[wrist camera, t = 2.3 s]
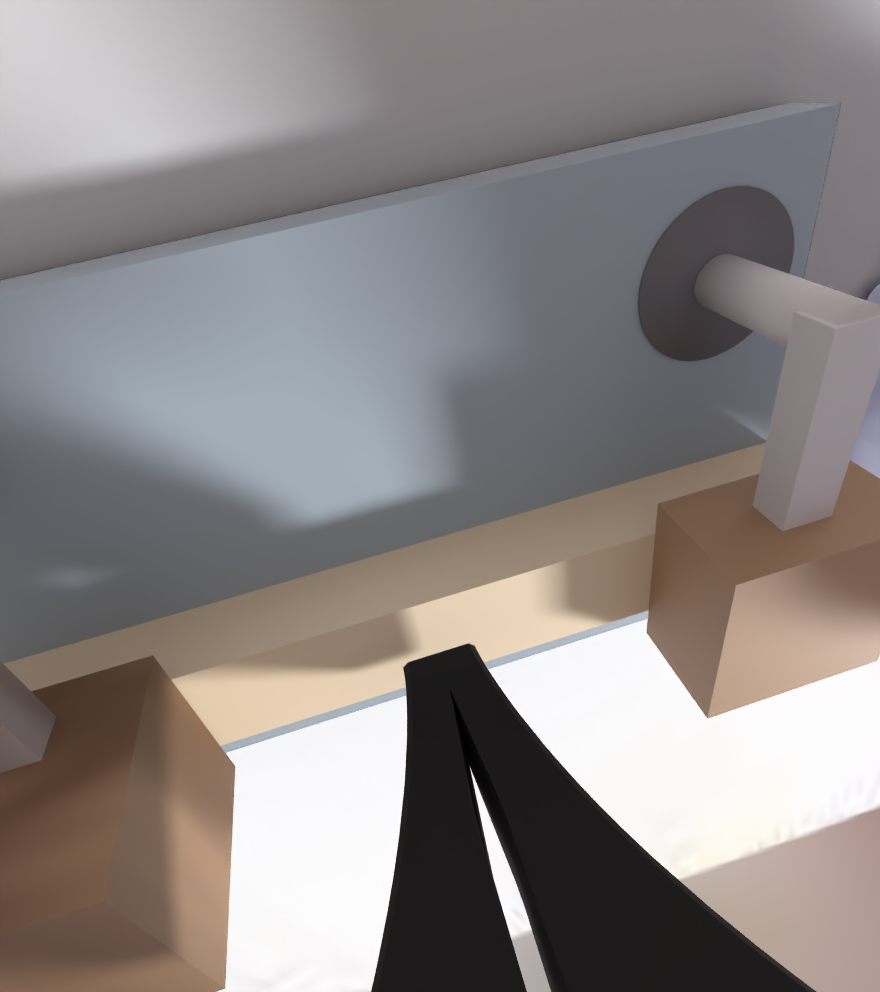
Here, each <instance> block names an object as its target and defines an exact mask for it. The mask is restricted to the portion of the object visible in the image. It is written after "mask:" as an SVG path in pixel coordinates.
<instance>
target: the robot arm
mask: <svg viewBox="0 0 880 992" xmlns="http://www.w3.org/2000/svg"><path fill="white" fill-rule="evenodd" d="M867 301H870V302H873V303H876V304H878V305H880V284H879V285H877V286H876V287H875V288H874V289H873V291H872V292H871V293H870V294H869V296H868V299H867ZM850 460H851V461H853V462H854V463H856V464H857V465H859V466H861V467H862V468H864V469H865V470H867V471H869V472H870V473H872V474H873V475H875V476H877V477H878V478H880V369H879V372H878V375H877V379H876V382H875V385H874V388H873V391H872V394H871V397H870V400H869V403H868V406H867V409H866V412H865V415H864V419H863V422H862V425H861V428H860V431H859V434H858V437H857V440H856V443H855V446H854V449H853V452H852V455H851V459H850ZM403 670H404V676H405V684H406V695H407V751H406V771H405V786H404V797H403V806H402V816H401V825H400V834H399V842H398V850H397V857H396V864H395V870H394V877H393V883H392V889H391V895H390V901H389V907H388V912H387V918H386V923H385V928H384V933H383V938H382V943H381V948H380V953H379V958H378V963H377V968H376V973H375V977H374V982H373V986H372V991H371V992H527V991H526V988H525V984H524V981H523V978H522V974H521V971H520V968H519V964H518V961H517V957H516V954H515V951H514V947H513V944H512V940H511V937H510V934H509V930H508V927H507V923H506V920H505V917H504V913H503V910H502V906H501V903H500V900H499V896H498V893H497V889H496V886H495V883H494V879H493V874H492V870H491V865H490V860H489V855H488V851H487V846H486V841H485V837H484V832H483V827H482V822H481V818H480V813H479V808H478V804H477V799H476V794H475V789H474V785H473V780H472V775H471V771H470V768H471V770H472V773H473V775H474V778H475V780H476V783H477V785H478V788H479V790H480V793H481V796H482V798H483V801H484V803H485V806H486V808H487V811H488V813H489V816H490V818H491V821H492V823H493V826H494V828H495V831H496V833H497V836H498V838H499V841H500V843H501V846H502V848H503V851H504V853H505V856H506V858H507V861H508V863H509V866H510V868H511V871H512V873H513V876H514V878H515V881H516V884H517V887H518V889H519V892H520V895H521V898H522V900H523V903H524V906H525V909H526V912H527V915H528V919H529V922H530V925H531V928H532V931H533V935H534V938H535V941H536V944H537V947H538V951H539V954H540V957H541V960H542V963H543V966H544V970H545V973H546V976H547V979H548V982H549V986H550V989H551V992H816V991H815V990H813V989H812V988H811V987H809V986H808V985H807V984H805V983H804V982H803V981H801V980H800V979H799V978H798V977H796V976H795V975H793V974H792V973H791V972H790V971H788V970H787V969H786V968H784V967H783V966H782V965H780V964H779V963H778V962H777V961H775V960H774V959H773V958H772V957H770V956H769V955H768V954H767V953H765V952H764V951H763V950H761V949H760V948H759V947H757V946H756V945H755V944H754V943H753V942H751V941H750V940H749V939H748V938H746V937H745V936H744V935H743V934H742V933H740V932H739V931H738V930H736V929H735V928H734V927H733V926H732V925H731V924H729V923H728V922H727V921H726V920H724V919H723V918H722V917H721V916H720V915H718V914H717V913H716V912H715V911H714V910H712V909H711V908H710V907H709V906H707V905H706V904H705V903H704V902H703V901H702V900H701V899H699V898H698V897H697V896H696V895H695V894H694V893H693V892H691V891H690V890H689V889H688V888H687V887H686V886H685V885H684V884H682V883H681V882H680V881H679V880H678V879H677V878H676V877H675V876H673V875H672V874H671V873H670V872H669V871H668V870H667V869H665V868H664V867H663V866H662V865H661V864H660V863H659V862H657V861H656V860H655V859H654V858H653V857H652V856H651V855H650V854H649V853H648V852H647V851H645V850H644V849H643V848H642V847H641V846H640V845H639V844H638V843H637V842H636V841H635V840H634V839H633V838H632V837H631V836H630V835H629V834H628V833H626V832H625V831H624V830H623V829H622V828H621V827H620V826H619V825H618V824H617V823H616V822H615V821H614V820H613V819H612V818H611V817H610V816H609V815H608V814H607V813H606V812H605V811H604V810H603V809H602V808H601V807H600V806H599V805H598V804H597V803H596V802H595V801H594V800H593V799H592V797H591V796H590V795H589V794H588V793H587V792H586V791H585V790H584V789H583V788H582V787H581V786H580V785H579V784H578V783H577V782H576V780H575V779H574V778H573V777H572V776H571V775H570V774H569V773H568V772H567V770H566V769H565V768H564V767H563V766H562V765H561V764H560V763H559V762H558V760H557V759H556V758H555V757H554V756H553V755H552V753H551V752H550V751H549V750H548V749H547V748H546V746H545V745H544V744H543V743H542V742H541V740H540V739H539V738H538V737H537V735H536V734H535V733H534V732H533V730H532V729H531V728H530V727H529V726H528V724H527V723H526V722H525V721H524V719H523V718H522V717H521V716H520V714H519V713H518V712H517V710H516V709H515V708H514V706H513V705H512V704H511V702H510V701H509V700H508V698H507V697H506V695H505V694H504V692H503V691H502V690H501V688H500V687H499V685H498V684H497V682H496V681H495V679H494V678H493V676H492V675H491V673H490V672H489V670H488V669H487V667H486V665H485V664H484V662H483V660H482V658H481V657H480V655H479V653H478V651H477V649H476V647H475V645H472V644H469V643H468V644H464V645H461V646H458V647H455V648H452V649H449V650H445V651H442V652H439V653H436V654H433V655H429V656H426V657H423V658H420V659H417V660H413V661H410V662H408V663H407V664H406V665H405V666H404V667H403ZM469 765H470V766H469Z"/></svg>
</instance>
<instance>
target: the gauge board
mask: <svg viewBox="0 0 880 992" xmlns="http://www.w3.org/2000/svg"><path fill="white" fill-rule="evenodd" d="M840 106H841V103H794V102H789V103H785V104H781V105H776V106H772V107H767V108H763V109H758V110H754V111H749V112H745V113H741V114H736V115H732V116H727V117H723V118H718V119H714V120H710V121H705V122H701V123H696V124H692V125H687V126H683V127H678V128H674V129H670V130H665V131H661V132H656V133H652V134H647V135H643V136H639V137H634V138H630V139H625V140H621V141H616V142H612V143H607V144H603V145H599V146H594V147H590V148H585V149H581V150H576V151H572V152H568V153H563V154H559V155H554V156H550V157H545V158H541V159H536V160H532V161H528V162H523V163H519V164H514V165H510V166H505V167H501V168H497V169H492V170H488V171H483V172H479V173H474V174H470V175H465V176H461V177H457V178H452V179H448V180H443V181H439V182H434V183H430V184H426V185H421V186H417V187H412V188H408V189H403V190H399V191H394V192H390V193H386V194H381V195H377V196H372V197H368V198H363V199H359V200H355V201H350V202H346V203H341V204H337V205H332V206H328V207H323V208H319V209H315V210H310V211H306V212H301V213H297V214H292V215H288V216H284V217H279V218H275V219H270V220H266V221H261V222H257V223H253V224H248V225H244V226H239V227H235V228H230V229H226V230H221V231H217V232H213V233H208V234H204V235H199V236H195V237H190V238H186V239H182V240H177V241H173V242H168V243H164V244H159V245H155V246H150V247H146V248H142V249H137V250H133V251H128V252H124V253H119V254H115V255H111V256H106V257H102V258H97V259H93V260H88V261H84V262H79V263H75V264H71V265H66V266H62V267H57V268H53V269H48V270H44V271H40V272H35V273H31V274H26V275H22V276H17V277H13V278H8V279H4V280H0V661H1V662H2V663H3V664H4V665H5V666H6V667H7V668H8V669H9V670H10V671H11V672H12V673H13V674H14V675H15V676H16V677H17V678H18V679H19V680H20V681H21V682H22V683H23V684H24V685H25V686H26V687H27V688H28V689H29V690H30V691H34V690H38V689H41V688H44V687H48V686H51V685H54V684H58V683H61V682H65V681H68V680H71V679H75V678H78V677H81V676H85V675H88V674H92V673H95V672H98V671H102V670H105V669H108V668H112V667H115V666H118V665H122V664H125V663H129V662H132V661H135V660H139V659H142V658H145V657H149V656H152V655H153V656H154V657H155V659H156V660H157V661H158V663H159V664H160V665H161V667H162V668H163V670H164V671H165V672H166V674H167V675H168V676H169V678H170V679H171V680H172V682H173V683H174V684H175V686H176V687H177V688H178V690H179V691H180V693H181V694H182V695H183V697H184V698H185V699H186V701H187V702H188V703H189V705H190V706H191V707H192V709H193V710H194V711H195V713H196V714H197V716H198V717H199V718H200V720H201V721H202V722H203V724H204V725H205V726H206V728H207V729H208V730H209V732H210V733H211V734H212V736H213V737H214V739H215V740H216V741H217V743H218V744H219V745H220V747H221V748H222V749H223V751H224V752H225V753H226V752H229V751H232V750H236V749H239V748H242V747H245V746H248V745H251V744H254V743H258V742H261V741H264V740H267V739H270V738H273V737H276V736H280V735H283V734H286V733H289V732H292V731H295V730H298V729H302V728H305V727H308V726H311V725H314V724H317V723H321V722H324V721H327V720H330V719H333V718H336V717H339V716H343V715H346V714H349V713H352V712H355V711H358V710H361V709H365V708H368V707H371V706H374V705H377V704H380V703H383V702H387V701H390V700H393V699H396V698H399V697H402V696H405V695H406V684H405V676H404V670H403V667H404V666H405V665H406V664H407V663H408V662H410V661H413V660H417V659H420V658H423V657H426V656H429V655H433V654H436V653H439V652H442V651H445V650H449V649H452V648H455V647H458V646H461V645H464V644H468V643H469V644H472V645H475V647H476V649H477V651H478V653H479V655H480V657H481V658H482V660H483V662H484V664H485V665H486V667H487V669H490V668H494V667H497V666H500V665H503V664H506V663H509V662H512V661H516V660H519V659H522V658H525V657H528V656H531V655H534V654H538V653H541V652H544V651H547V650H550V649H553V648H556V647H560V646H563V645H566V644H569V643H572V642H575V641H578V640H582V639H585V638H588V637H591V636H594V635H597V634H601V633H604V632H607V631H610V630H613V629H616V628H619V627H623V626H626V625H629V624H632V623H635V622H638V621H641V620H645V619H648V623H647V634H648V635H649V636H650V638H651V639H652V641H653V642H654V643H655V645H656V646H657V648H658V649H659V651H660V652H661V653H662V655H663V656H664V658H665V659H666V660H667V662H668V663H669V665H670V666H671V667H672V669H673V670H674V672H675V673H676V675H677V676H678V677H679V679H680V680H681V682H682V683H683V684H684V686H685V687H686V689H687V690H688V692H689V693H690V694H691V696H692V697H693V699H694V700H695V701H696V703H697V704H698V706H699V707H700V708H701V710H702V711H703V713H704V714H705V716H706V717H707V718H710V717H713V716H716V715H719V714H722V713H725V712H728V711H731V710H734V709H736V708H739V707H742V706H745V705H748V704H751V703H754V702H757V701H760V700H763V699H766V698H769V697H772V696H775V695H778V694H780V693H783V692H786V691H789V690H792V689H795V688H798V687H801V686H804V685H807V684H810V683H813V682H816V681H819V680H822V679H825V678H827V677H830V676H833V675H836V674H839V673H842V672H845V671H848V670H851V669H854V668H857V667H860V666H863V665H866V664H869V663H871V662H874V661H877V659H878V657H879V655H880V478H878V477H877V476H875V475H873V474H872V473H870V472H869V471H867V470H865V469H864V468H862V467H861V466H859V465H857V464H856V463H854V462H853V461H851V460H850V459H851V455H852V452H853V449H854V446H855V443H856V440H857V437H858V434H859V431H860V428H861V425H862V422H863V419H864V415H865V412H866V409H867V406H868V403H869V400H870V397H871V394H872V391H873V388H874V385H875V382H876V379H877V375H878V372H879V369H880V305H878V304H876V303H873V302H870V301H867V300H864V299H861V298H858V297H855V296H852V295H849V294H846V293H843V292H841V291H838V290H835V289H832V288H829V287H826V286H823V285H820V284H817V283H814V282H811V281H808V280H806V279H803V277H804V273H805V268H806V264H807V259H808V254H809V250H810V245H811V240H812V236H813V231H814V227H815V222H816V217H817V213H818V208H819V203H820V199H821V194H822V190H823V185H824V180H825V176H826V171H827V166H828V162H829V157H830V153H831V148H832V143H833V139H834V134H835V129H836V125H837V120H838V116H839V111H840Z"/></svg>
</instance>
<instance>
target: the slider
mask: <svg viewBox="0 0 880 992" xmlns="http://www.w3.org/2000/svg"><path fill="white" fill-rule="evenodd" d="M234 780H235V766H234V764H233V763H232V761H231V760H230V759H229V757H228V756H227V755H226V753H225V752H224V751H223V749H222V748H221V747H220V745H219V744H218V743H217V741H216V740H215V739H214V737H213V736H212V734H211V733H210V732H209V730H208V729H207V728H206V726H205V725H204V724H203V722H202V721H201V720H200V718H199V717H198V716H197V714H196V713H195V711H194V710H193V709H192V707H191V706H190V705H189V703H188V702H187V701H186V699H185V698H184V697H183V695H182V694H181V693H180V691H179V690H178V688H177V687H176V686H175V684H174V683H173V682H172V680H171V679H170V678H169V676H168V675H167V674H166V672H165V671H164V670H163V668H162V667H161V665H160V664H159V663H158V661H157V660H156V659H155V657H154V656H153V655H152V656H149V657H145V658H142V659H139V660H135V661H132V662H129V663H125V664H122V665H118V666H115V667H112V668H108V669H105V670H102V671H98V672H95V673H92V674H88V675H85V676H81V677H78V678H75V679H71V680H68V681H65V682H61V683H58V684H54V685H51V686H48V687H44V688H41V689H38V690H34V691H30V690H29V689H28V688H27V687H26V686H25V685H24V684H23V683H22V682H21V681H20V680H19V679H18V678H17V677H16V676H15V675H14V674H13V673H12V672H11V671H10V670H9V669H8V668H7V667H6V666H5V665H4V664H3V663H2V662H1V661H0V992H216V991H219V990H222V989H225V978H226V956H227V934H228V912H229V890H230V868H231V846H232V824H233V802H234Z"/></svg>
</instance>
